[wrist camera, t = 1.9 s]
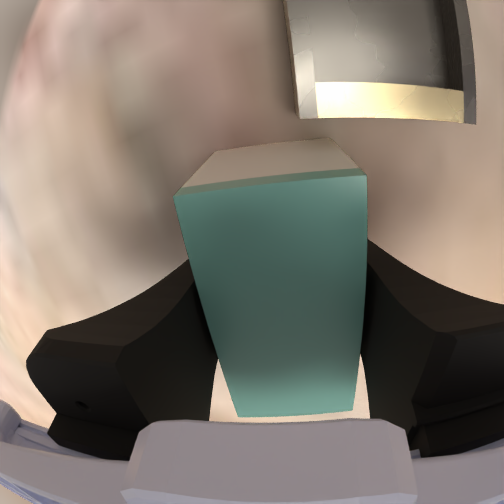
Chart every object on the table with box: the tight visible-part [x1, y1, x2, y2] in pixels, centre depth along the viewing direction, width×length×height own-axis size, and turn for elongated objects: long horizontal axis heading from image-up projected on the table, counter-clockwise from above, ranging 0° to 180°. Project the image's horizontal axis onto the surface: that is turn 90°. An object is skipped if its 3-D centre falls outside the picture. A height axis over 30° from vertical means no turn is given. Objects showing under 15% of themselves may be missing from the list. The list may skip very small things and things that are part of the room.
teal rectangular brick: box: [173, 138, 367, 417], centre depth 10 cm, size 4×8×5 cm, turn 9°
